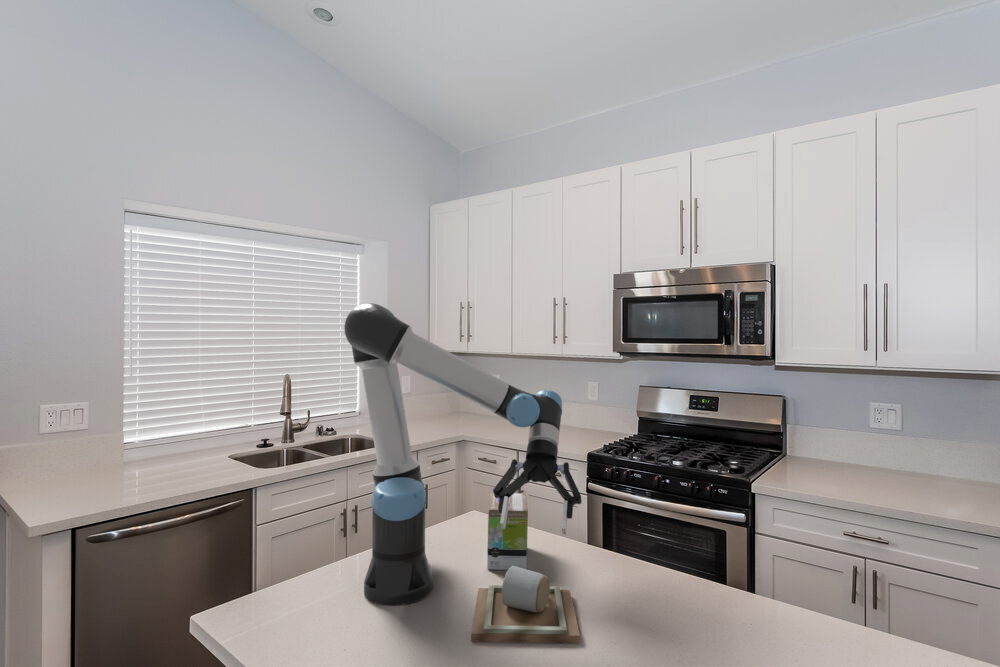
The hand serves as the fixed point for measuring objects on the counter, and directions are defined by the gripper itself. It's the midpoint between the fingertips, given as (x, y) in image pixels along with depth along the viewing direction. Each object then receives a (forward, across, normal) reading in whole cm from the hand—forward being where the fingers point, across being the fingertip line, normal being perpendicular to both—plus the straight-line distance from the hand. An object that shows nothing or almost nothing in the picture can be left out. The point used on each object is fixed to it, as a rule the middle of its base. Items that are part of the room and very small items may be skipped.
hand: (532, 528), depth 118 cm
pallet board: (+17, 0, -3) cm, 17 cm away
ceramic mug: (+15, 0, -4) cm, 15 cm away
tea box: (-2, +9, -23) cm, 25 cm away
